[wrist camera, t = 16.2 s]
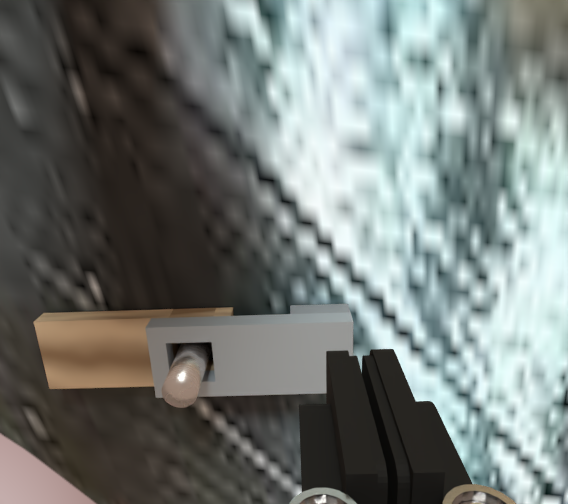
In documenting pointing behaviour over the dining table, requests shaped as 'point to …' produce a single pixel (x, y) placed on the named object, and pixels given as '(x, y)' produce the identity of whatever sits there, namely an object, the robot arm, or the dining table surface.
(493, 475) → the dining table surface
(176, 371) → the pin
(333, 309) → the link
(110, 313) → the link
